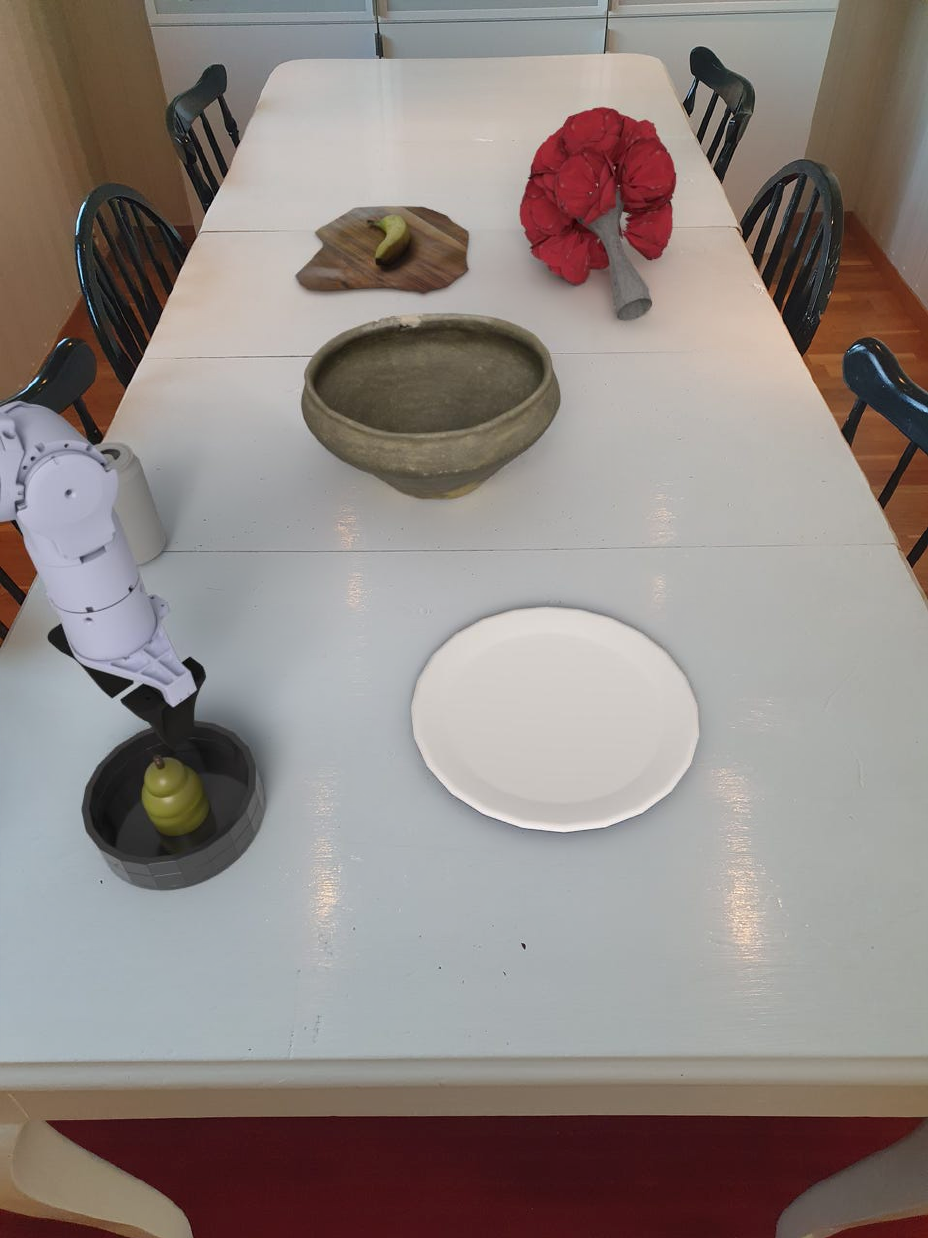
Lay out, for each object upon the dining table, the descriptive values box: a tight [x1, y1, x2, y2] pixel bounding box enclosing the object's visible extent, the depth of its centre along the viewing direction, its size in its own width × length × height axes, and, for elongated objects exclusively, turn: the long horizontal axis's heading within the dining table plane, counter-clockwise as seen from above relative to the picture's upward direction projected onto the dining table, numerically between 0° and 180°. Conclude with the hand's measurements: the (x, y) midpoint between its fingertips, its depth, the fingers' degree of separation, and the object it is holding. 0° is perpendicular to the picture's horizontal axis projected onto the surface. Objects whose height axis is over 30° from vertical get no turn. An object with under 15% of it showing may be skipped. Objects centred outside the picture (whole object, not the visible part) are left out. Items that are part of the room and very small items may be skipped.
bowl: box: [300, 312, 562, 500], centre depth 100 cm, size 28×28×14 cm
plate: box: [410, 605, 700, 834], centre depth 79 cm, size 25×25×1 cm
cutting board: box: [294, 205, 469, 294], centre depth 148 cm, size 35×27×4 cm
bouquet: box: [519, 106, 677, 321], centre depth 131 cm, size 22×24×30 cm
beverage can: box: [93, 441, 167, 567], centre depth 92 cm, size 6×6×12 cm
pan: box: [80, 719, 266, 891], centre depth 72 cm, size 13×13×4 cm
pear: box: [142, 755, 210, 836], centre depth 70 cm, size 5×5×7 cm
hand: (149, 713), depth 69 cm, fingers open, 7 cm apart
